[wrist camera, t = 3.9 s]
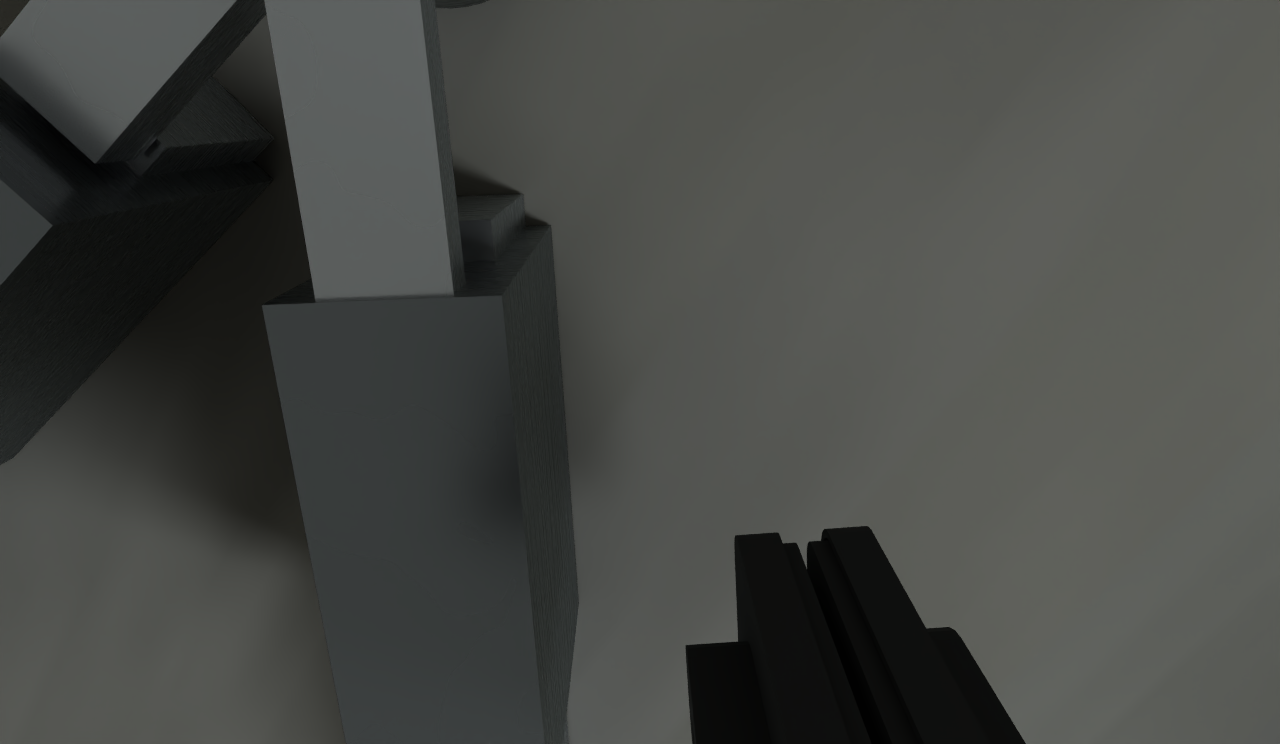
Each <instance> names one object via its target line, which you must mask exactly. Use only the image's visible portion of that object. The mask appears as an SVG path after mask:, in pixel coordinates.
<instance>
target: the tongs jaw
mask: <svg viewBox="0 0 1280 744" xmlns="http://www.w3.org/2000/svg"><path fill="white" fill-rule="evenodd" d="M264 1H265V7H266V13H267V19H268V25H269V31H270V37H271V42H272V48H273V54H274V60H275V66H276V72H277V78H278V84H279V89H280V95H281V101H282V107H283V113H284V119H285V125H286V131H287V136H288V142H289V148H290V154H291V160H292V166H293V172H294V177H295V183H296V189H297V195H298V201H299V207H300V213H301V219H302V224H303V230H304V236H305V242H306V248H307V254H308V260H309V266H310V271H311V277H312V279H310V280H308V281H306V282H304V283H302V284H300V285H299V286H297V287H295V288H293V289H291V290H289V291H287V292H285V293H284V294H282V295H280V296H278V297H276V298H274V299H272V300H271V301H269V302H267V303H265V304H263V305H262V309H263V314H264V319H265V324H266V330H267V335H268V340H269V345H270V350H271V356H272V361H273V366H274V371H275V376H276V382H277V387H278V392H279V397H280V403H281V408H282V413H283V418H284V423H285V429H286V434H287V439H288V444H289V449H290V455H291V460H292V465H293V470H294V475H295V481H296V486H297V491H298V496H299V501H300V507H301V512H302V517H303V522H304V527H305V533H306V538H307V543H308V548H309V553H310V559H311V564H312V569H313V574H314V579H315V585H316V590H317V595H318V600H319V605H320V611H321V616H322V621H323V626H324V631H325V637H326V642H327V647H328V652H329V657H330V663H331V668H332V673H333V678H334V683H335V689H336V694H337V699H338V704H339V710H340V715H341V720H342V725H343V730H344V736H345V741H346V744H569V738H568V726H567V705H568V696H569V687H570V678H571V669H572V660H573V651H574V642H575V633H576V624H577V615H578V606H579V599H578V586H577V572H576V559H575V545H574V531H573V518H572V504H571V491H570V477H569V464H568V450H567V436H566V423H565V409H564V396H563V382H562V368H561V355H560V341H559V328H558V314H557V300H556V287H555V273H554V260H553V246H552V233H551V225H538V226H526V223H525V211H524V199H523V194H509V195H484V196H460V197H456V189H455V180H454V171H453V162H452V153H451V144H450V134H449V125H448V116H447V107H446V98H445V89H444V80H443V70H442V61H441V52H440V43H439V34H438V25H437V15H436V6H435V0H264Z"/></svg>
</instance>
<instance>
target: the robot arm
mask: <svg viewBox="0 0 1280 744" xmlns="http://www.w3.org/2000/svg"><path fill="white" fill-rule="evenodd" d="M735 572H736V596H737V621H738V642H726V643H711V644H697V645H686V663H687V678H688V693H689V707H690V720H691V733H692V744H1026V743H1025V742H1024V740H1023V738H1022V737H1021V735H1020V733H1019V732H1018V730H1017V729H1016V727H1015V725H1014V724H1013V722H1012V720H1011V719H1010V717H1009V715H1008V714H1007V712H1006V711H1005V709H1004V707H1003V706H1002V704H1001V702H1000V701H999V699H998V697H997V696H996V694H995V693H994V691H993V689H992V688H991V686H990V684H989V683H988V681H987V679H986V678H985V676H984V675H983V673H982V671H981V670H980V668H979V666H978V665H977V663H976V661H975V660H974V658H973V657H972V655H971V653H970V652H969V650H968V648H967V647H966V645H965V643H964V642H963V640H962V639H961V637H960V636H959V635H958V633H957V632H956V631H955V630H954V629H952V628H950V627H943V628H928V629H926V627H925V626H924V624H923V622H922V620H921V618H920V617H919V615H918V613H917V611H916V609H915V608H914V606H913V604H912V602H911V600H910V599H909V597H908V595H907V593H906V591H905V590H904V588H903V586H902V584H901V582H900V581H899V579H898V577H897V575H896V573H895V572H894V570H893V568H892V566H891V564H890V563H889V561H888V559H887V557H886V555H885V554H884V552H883V550H882V548H881V546H880V545H879V543H878V541H877V539H876V537H875V536H874V534H873V532H872V530H871V529H870V528H869V527H868V526H861V527H847V528H833V529H824V530H823V532H822V537H821V541H812V542H809V543H808V546H807V569H806V566H805V564H804V561H803V558H802V555H801V553H800V550H799V547H798V545H797V543H784V544H783V543H782V540H781V537H780V535H779V533H763V534H749V535H735Z"/></svg>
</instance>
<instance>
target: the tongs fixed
mask: <svg viewBox="0 0 1280 744" xmlns="http://www.w3.org/2000/svg"><path fill="white" fill-rule="evenodd" d="M486 1H488V0H435V6H436V8H459V7H468V6H472V5H476V4H480V3H483V2H486ZM266 14H267V13H266V7H265V1H264V0H30V1H29V2H28V3H27V5H26V6H25V7H24V8H23V10H22V11H21V12H20V14H19V15H18V16H17V17H16V19H15V20H14V21H13V22H12V24H11V25H10V26H9V27H8V29H7V30H6V31H5V32H4V34H3V35H2V36H1V37H0V465H1V464H3V463H5V462H7V461H8V460H10V459H12V458H13V457H14V456H15V455H16V454H17V453H18V452H19V451H20V450H21V449H22V448H23V447H24V446H25V444H26V443H27V442H28V441H29V440H30V439H31V438H32V437H33V436H34V435H35V434H36V433H37V432H38V431H39V430H40V428H41V427H42V426H43V425H44V424H45V423H46V422H47V421H48V420H49V419H50V418H51V417H52V416H53V415H54V414H55V412H56V411H57V410H58V409H59V408H60V407H61V406H62V405H63V404H64V403H65V402H66V401H67V400H68V399H69V398H70V396H71V395H72V394H73V393H74V392H75V391H76V390H77V389H78V388H79V387H80V386H81V385H82V384H83V383H84V382H85V380H86V379H87V378H88V377H89V376H90V375H91V374H92V373H93V372H94V371H95V370H96V369H97V368H98V367H99V366H100V364H101V363H102V362H103V361H104V360H105V359H106V358H107V357H108V356H109V355H110V354H111V353H112V352H113V351H114V350H115V348H116V347H117V346H118V345H119V344H120V343H121V342H122V341H123V340H124V339H125V338H126V337H127V336H128V335H129V334H130V332H131V331H132V330H133V329H134V328H135V327H136V326H137V325H138V324H139V323H140V322H141V321H142V320H143V319H144V318H145V316H146V315H147V314H148V313H149V312H150V311H151V310H152V309H153V308H154V307H155V306H156V305H157V304H158V303H159V302H160V300H161V299H162V298H163V297H164V296H165V295H166V294H167V293H168V292H169V291H170V290H171V289H172V288H173V287H174V286H175V284H176V283H177V282H178V281H179V280H180V279H181V278H182V277H183V276H184V275H185V274H186V273H187V272H188V271H189V270H190V268H191V267H192V266H193V265H194V264H195V263H196V262H197V261H198V260H199V259H200V258H201V257H202V256H203V255H204V254H205V252H206V251H207V250H208V249H209V248H210V247H211V246H212V245H213V244H214V243H215V242H216V241H217V240H218V239H219V238H220V236H221V235H222V234H223V233H224V232H225V231H226V230H227V229H228V228H229V227H230V226H231V225H232V224H233V223H234V222H235V220H236V219H237V218H238V217H239V216H240V215H241V214H242V213H243V212H244V211H245V210H246V209H247V208H248V207H249V206H250V204H251V203H252V202H253V201H254V200H255V199H256V198H257V197H258V196H259V195H260V194H261V193H262V192H263V191H264V190H265V188H266V187H267V186H268V185H269V184H270V183H271V182H272V181H273V179H272V178H271V177H270V176H269V175H268V174H267V173H266V172H264V171H263V170H262V169H261V168H260V167H259V166H258V165H257V164H256V163H255V162H254V159H255V158H256V157H257V156H258V155H259V154H260V153H261V152H262V151H263V150H264V149H265V148H266V146H267V145H268V144H269V143H270V142H271V141H272V140H273V139H274V137H273V136H272V135H271V134H270V133H269V132H268V131H267V130H266V129H265V128H264V127H263V126H262V125H261V124H260V123H259V122H258V121H257V120H256V119H255V118H254V117H253V116H252V115H251V114H250V113H248V112H247V111H246V110H245V109H244V108H243V107H242V106H241V105H240V104H239V103H238V102H237V101H236V100H235V99H234V98H233V97H232V96H231V95H230V94H229V93H228V92H227V91H226V90H225V89H224V88H223V87H222V86H221V85H220V84H219V83H218V82H217V81H216V80H215V79H214V78H213V77H212V75H213V74H214V73H215V72H216V71H217V69H218V68H219V67H220V66H221V65H222V64H223V63H224V62H225V60H226V59H227V58H228V57H229V56H230V55H231V54H232V52H233V51H234V50H235V49H236V48H237V47H238V46H239V44H240V43H241V42H242V41H243V40H244V39H245V38H246V37H247V35H248V34H249V33H250V32H251V31H252V30H253V29H254V27H255V26H256V25H257V24H258V23H259V22H260V21H261V19H262V18H263V17H264V16H265V15H266Z"/></svg>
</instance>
